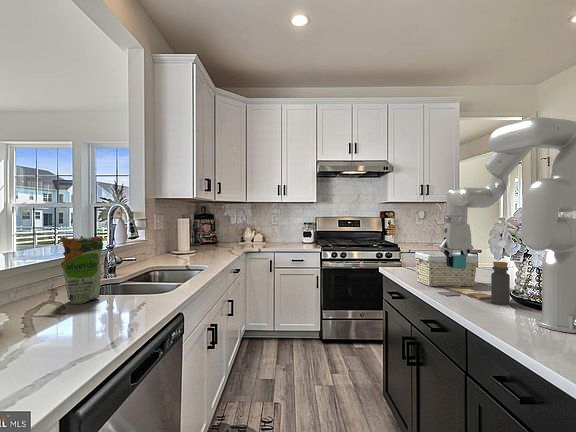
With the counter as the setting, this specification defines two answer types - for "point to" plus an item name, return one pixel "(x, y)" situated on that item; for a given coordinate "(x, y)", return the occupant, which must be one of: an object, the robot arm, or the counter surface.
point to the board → (468, 292)
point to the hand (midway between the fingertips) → (456, 265)
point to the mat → (449, 293)
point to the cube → (458, 261)
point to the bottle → (500, 284)
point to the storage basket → (444, 270)
